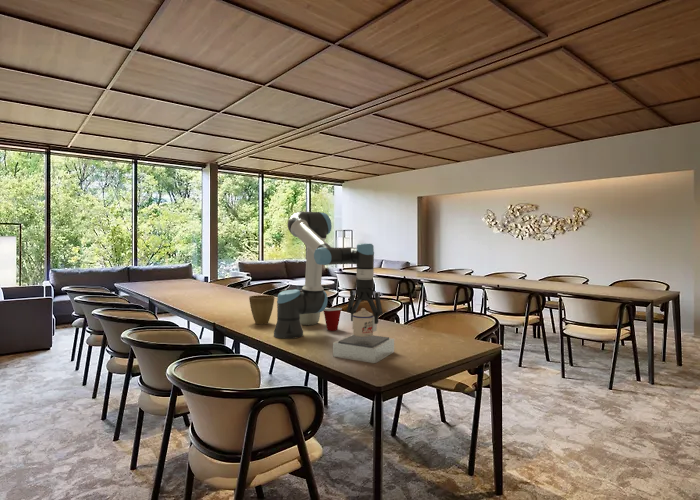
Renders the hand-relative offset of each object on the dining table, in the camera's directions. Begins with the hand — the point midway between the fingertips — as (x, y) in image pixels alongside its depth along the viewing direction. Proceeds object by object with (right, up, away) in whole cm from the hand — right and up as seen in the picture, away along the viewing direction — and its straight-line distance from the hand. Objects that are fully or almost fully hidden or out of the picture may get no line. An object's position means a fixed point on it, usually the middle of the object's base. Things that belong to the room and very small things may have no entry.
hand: (364, 329), depth 186 cm
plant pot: (-59, -9, +66) cm, 89 cm away
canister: (-32, -9, +66) cm, 74 cm away
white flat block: (+1, -11, +2) cm, 11 cm away
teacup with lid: (0, -2, 0) cm, 2 cm away
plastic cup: (-16, -10, +50) cm, 54 cm away
